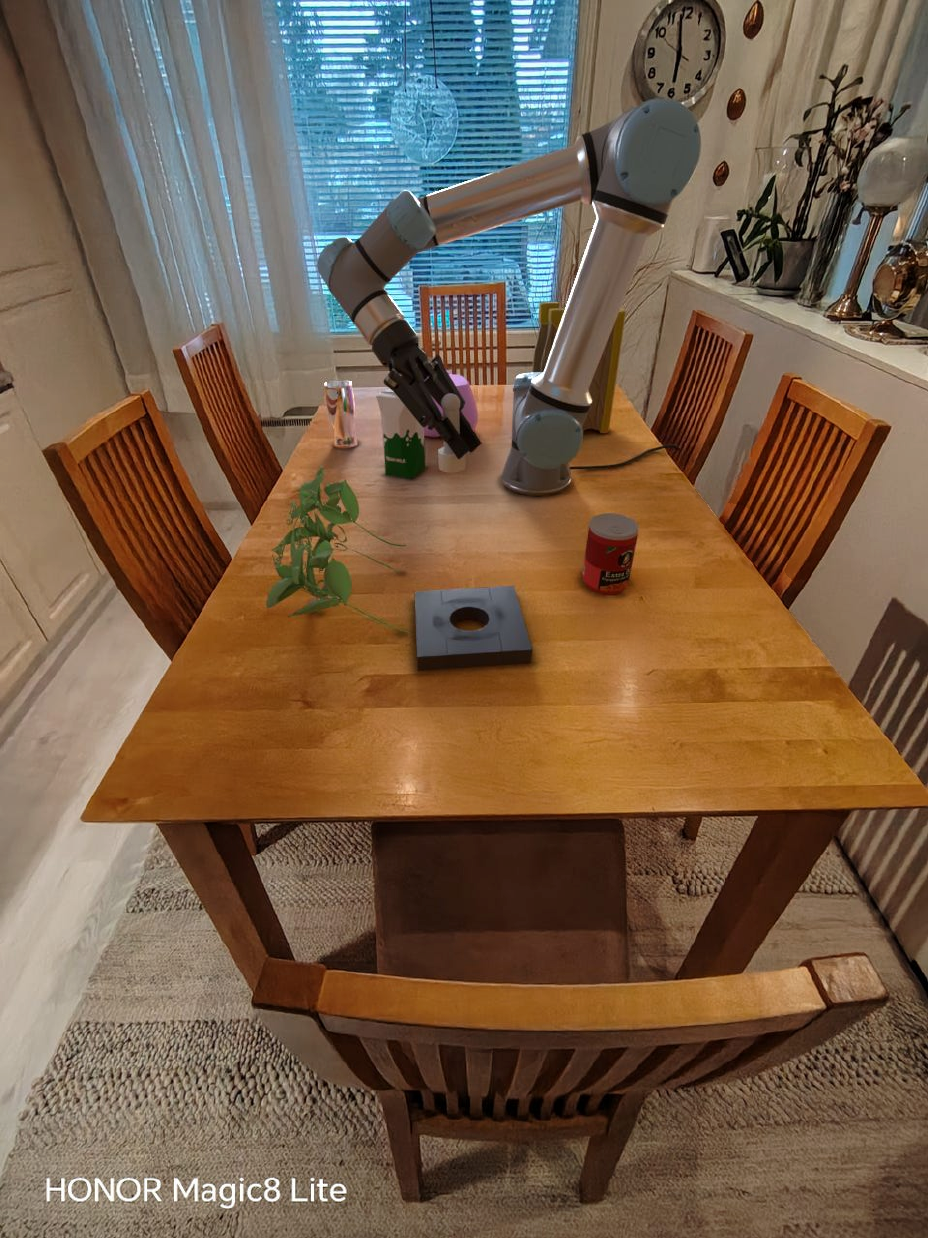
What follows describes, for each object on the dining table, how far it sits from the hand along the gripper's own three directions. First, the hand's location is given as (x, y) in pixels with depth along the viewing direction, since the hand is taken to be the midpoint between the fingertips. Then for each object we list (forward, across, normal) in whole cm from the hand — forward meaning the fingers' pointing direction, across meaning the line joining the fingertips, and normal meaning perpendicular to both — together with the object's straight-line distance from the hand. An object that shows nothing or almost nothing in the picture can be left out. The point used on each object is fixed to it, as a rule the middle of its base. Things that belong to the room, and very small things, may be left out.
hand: (470, 451), depth 100 cm
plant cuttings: (+9, +28, -16) cm, 33 cm away
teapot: (-15, -45, -40) cm, 62 cm away
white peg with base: (0, 0, -5) cm, 5 cm away
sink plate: (+23, +22, -1) cm, 32 cm away
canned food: (+31, -1, +6) cm, 32 cm away
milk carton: (-9, -18, -34) cm, 40 cm away
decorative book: (+4, -64, -21) cm, 68 cm away
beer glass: (-26, -23, -51) cm, 62 cm away
